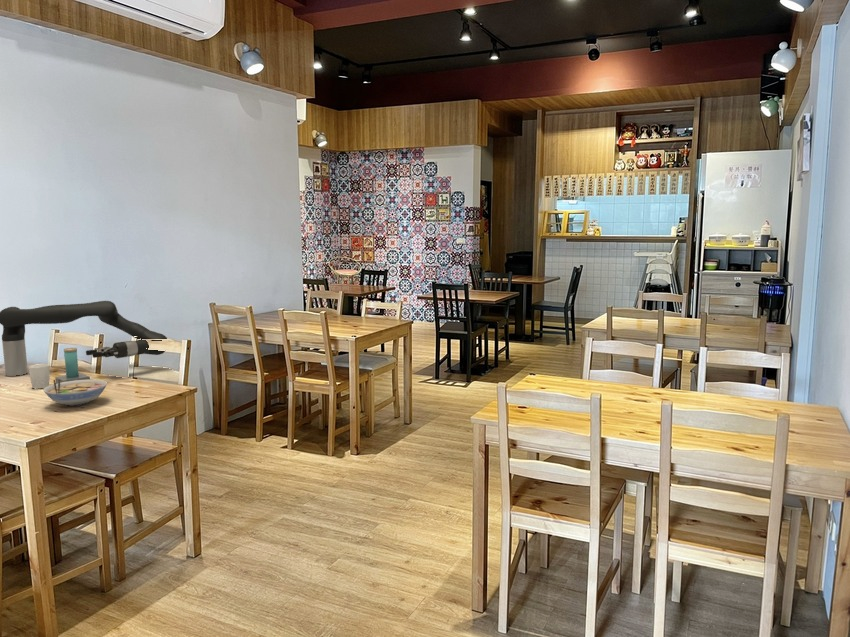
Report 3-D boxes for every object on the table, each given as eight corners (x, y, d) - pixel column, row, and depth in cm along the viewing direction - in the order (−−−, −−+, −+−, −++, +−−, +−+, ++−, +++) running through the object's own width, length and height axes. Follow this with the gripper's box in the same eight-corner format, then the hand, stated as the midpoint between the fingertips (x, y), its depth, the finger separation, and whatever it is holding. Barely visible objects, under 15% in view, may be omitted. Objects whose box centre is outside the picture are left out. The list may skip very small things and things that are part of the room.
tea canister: (64, 376, 284) (62, 348, 283) (76, 374, 288) (74, 347, 286) (68, 378, 281) (65, 350, 279) (80, 376, 285) (78, 348, 283)
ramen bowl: (110, 407, 247) (109, 387, 246) (43, 415, 236) (41, 394, 235) (107, 393, 269) (105, 374, 268) (45, 400, 258) (43, 381, 256)
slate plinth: (55, 384, 285) (55, 376, 284) (81, 380, 292) (81, 372, 292) (63, 388, 277) (63, 380, 277) (90, 383, 285) (89, 376, 285)
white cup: (55, 385, 283) (53, 364, 281) (42, 389, 275) (40, 367, 273) (38, 385, 283) (37, 363, 282) (26, 389, 276) (24, 367, 274)
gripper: (119, 339, 304) (83, 344, 293) (130, 343, 295) (94, 348, 283) (120, 354, 306) (84, 360, 294) (132, 358, 296) (95, 364, 284)
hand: (89, 354), depth 289 cm, fingers open, 8 cm apart
